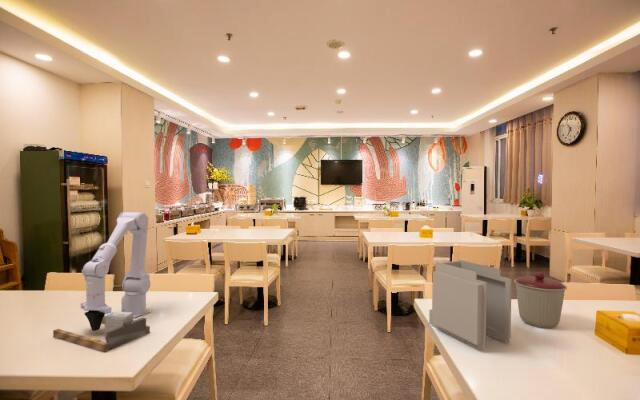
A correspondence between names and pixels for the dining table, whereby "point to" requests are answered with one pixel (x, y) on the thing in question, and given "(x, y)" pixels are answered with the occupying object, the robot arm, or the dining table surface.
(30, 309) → the dining table surface
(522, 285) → the canister
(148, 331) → the brown piece
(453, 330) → the grey napkin holder
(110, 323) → the medicine box
